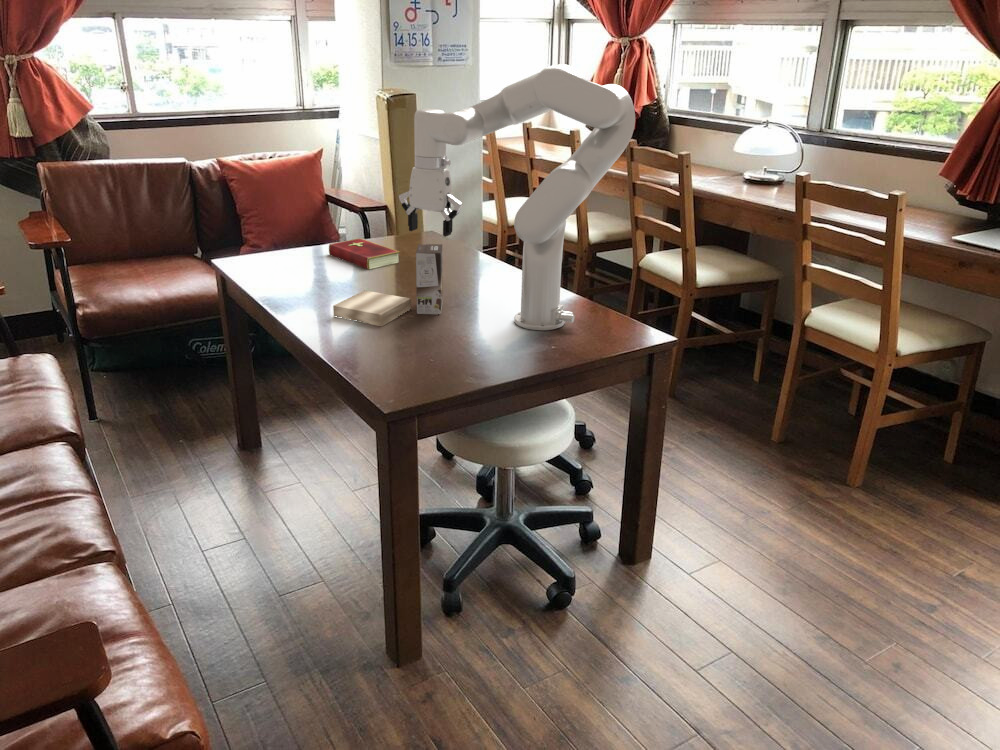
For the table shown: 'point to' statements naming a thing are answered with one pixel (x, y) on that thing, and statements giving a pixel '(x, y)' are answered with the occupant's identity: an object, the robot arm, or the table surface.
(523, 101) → the robot arm
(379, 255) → the hardcover book
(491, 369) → the table surface
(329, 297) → the table surface
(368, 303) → the birch base
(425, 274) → the coffee box
